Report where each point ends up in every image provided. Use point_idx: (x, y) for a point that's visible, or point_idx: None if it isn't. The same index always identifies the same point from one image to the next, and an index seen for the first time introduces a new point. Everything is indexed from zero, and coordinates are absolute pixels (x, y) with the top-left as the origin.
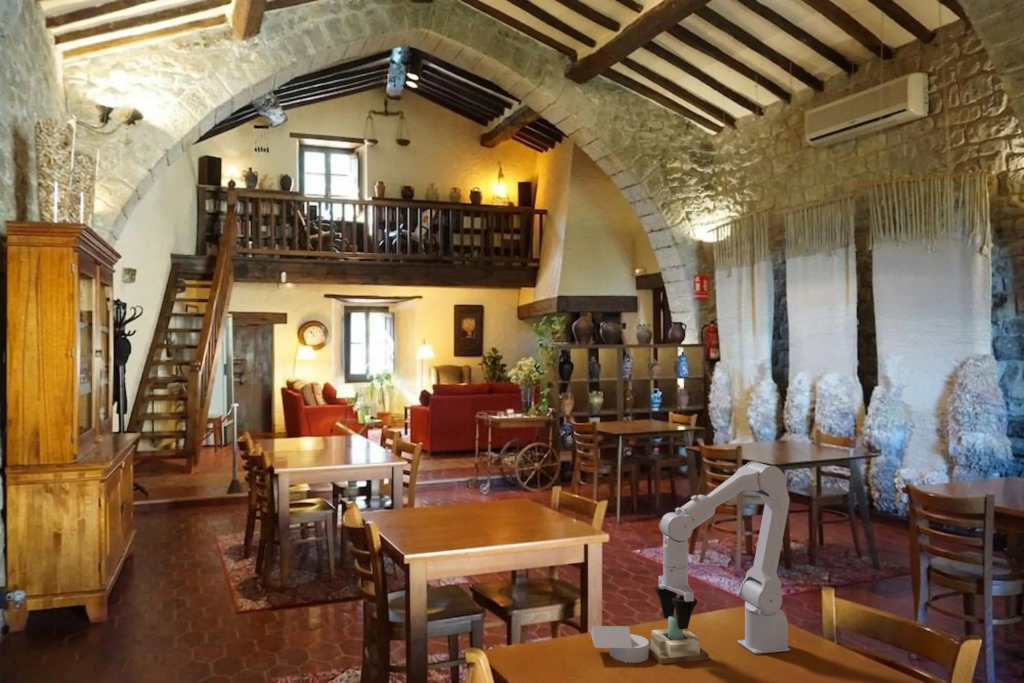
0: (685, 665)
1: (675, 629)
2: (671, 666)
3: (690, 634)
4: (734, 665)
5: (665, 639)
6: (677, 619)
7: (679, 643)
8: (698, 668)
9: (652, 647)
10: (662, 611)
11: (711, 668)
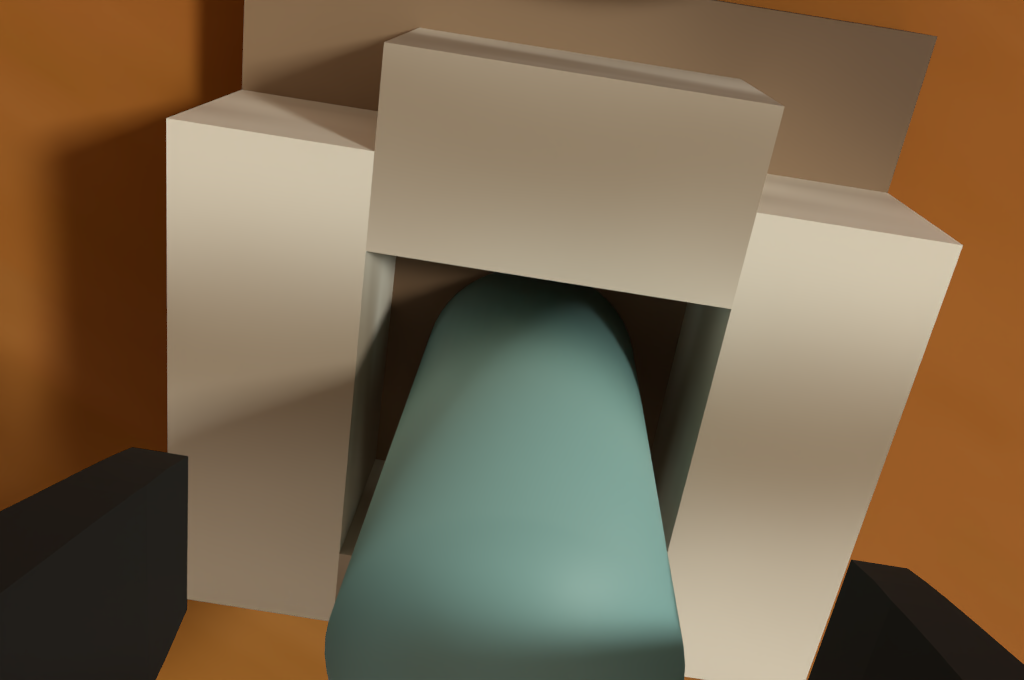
0: (149, 225)
1: (388, 460)
2: (158, 29)
3: None
4: None
5: (450, 208)
6: (10, 537)
7: (205, 317)
8: (34, 313)
9: (690, 70)
10: (993, 642)
11: (10, 440)
